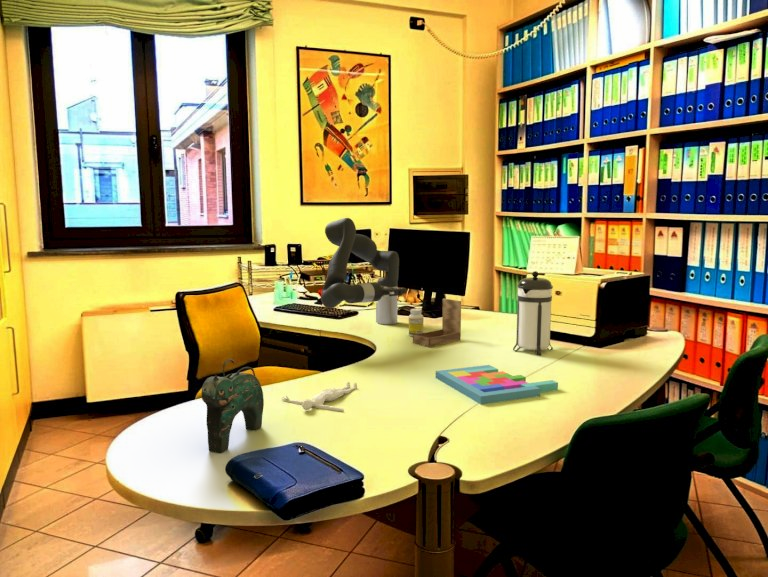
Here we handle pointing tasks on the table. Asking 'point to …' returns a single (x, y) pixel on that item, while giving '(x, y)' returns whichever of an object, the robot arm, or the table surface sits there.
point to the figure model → (324, 398)
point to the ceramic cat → (231, 405)
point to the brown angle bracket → (444, 326)
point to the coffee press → (534, 314)
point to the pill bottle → (415, 322)
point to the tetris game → (492, 384)
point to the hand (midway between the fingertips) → (397, 289)
